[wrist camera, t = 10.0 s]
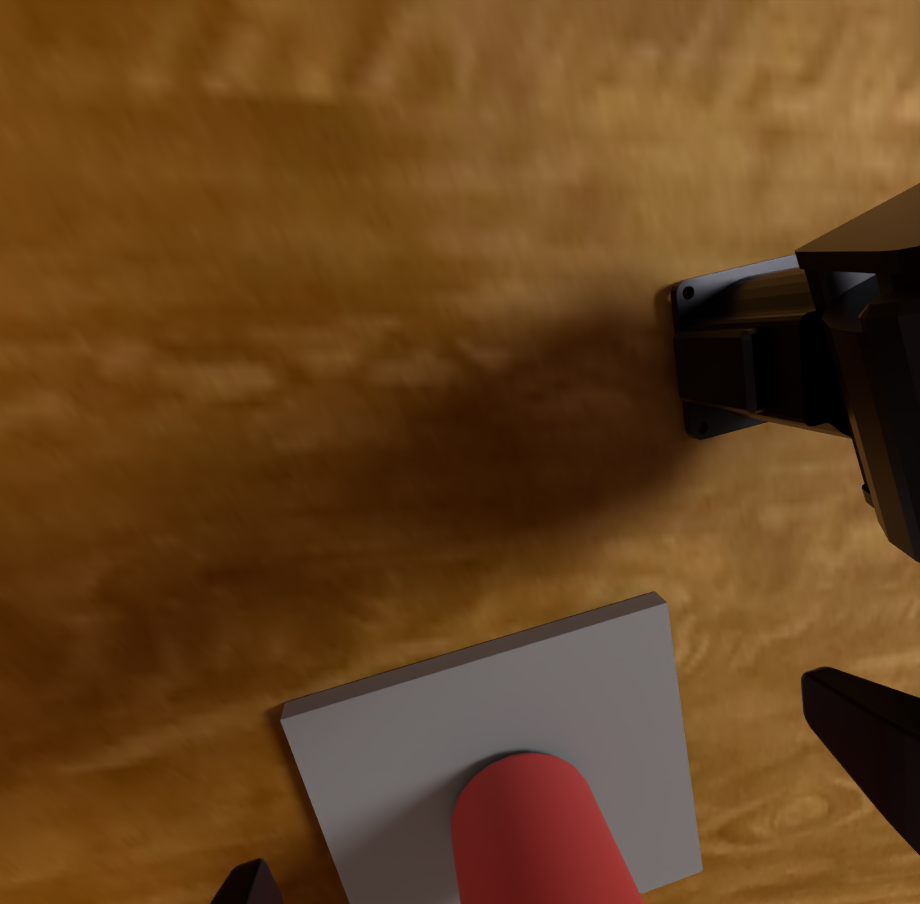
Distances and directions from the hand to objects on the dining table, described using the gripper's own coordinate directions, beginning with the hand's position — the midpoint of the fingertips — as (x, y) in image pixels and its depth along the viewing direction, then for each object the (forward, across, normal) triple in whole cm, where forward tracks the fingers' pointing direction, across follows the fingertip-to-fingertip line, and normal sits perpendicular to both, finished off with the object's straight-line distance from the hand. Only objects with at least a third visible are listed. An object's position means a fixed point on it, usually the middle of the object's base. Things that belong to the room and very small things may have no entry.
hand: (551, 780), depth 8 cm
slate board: (+13, 0, +14) cm, 19 cm away
